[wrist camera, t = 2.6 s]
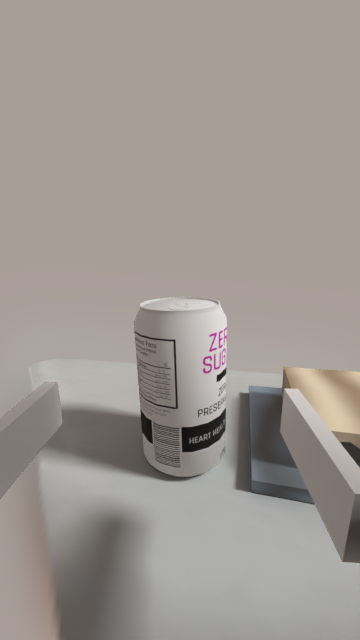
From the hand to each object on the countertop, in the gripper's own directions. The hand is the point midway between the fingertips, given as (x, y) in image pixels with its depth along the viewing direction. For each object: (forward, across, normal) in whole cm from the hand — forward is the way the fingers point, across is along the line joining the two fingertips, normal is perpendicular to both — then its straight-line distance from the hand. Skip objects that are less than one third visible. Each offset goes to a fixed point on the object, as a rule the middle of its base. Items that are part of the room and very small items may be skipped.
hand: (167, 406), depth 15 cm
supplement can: (+9, 0, -11) cm, 14 cm away
